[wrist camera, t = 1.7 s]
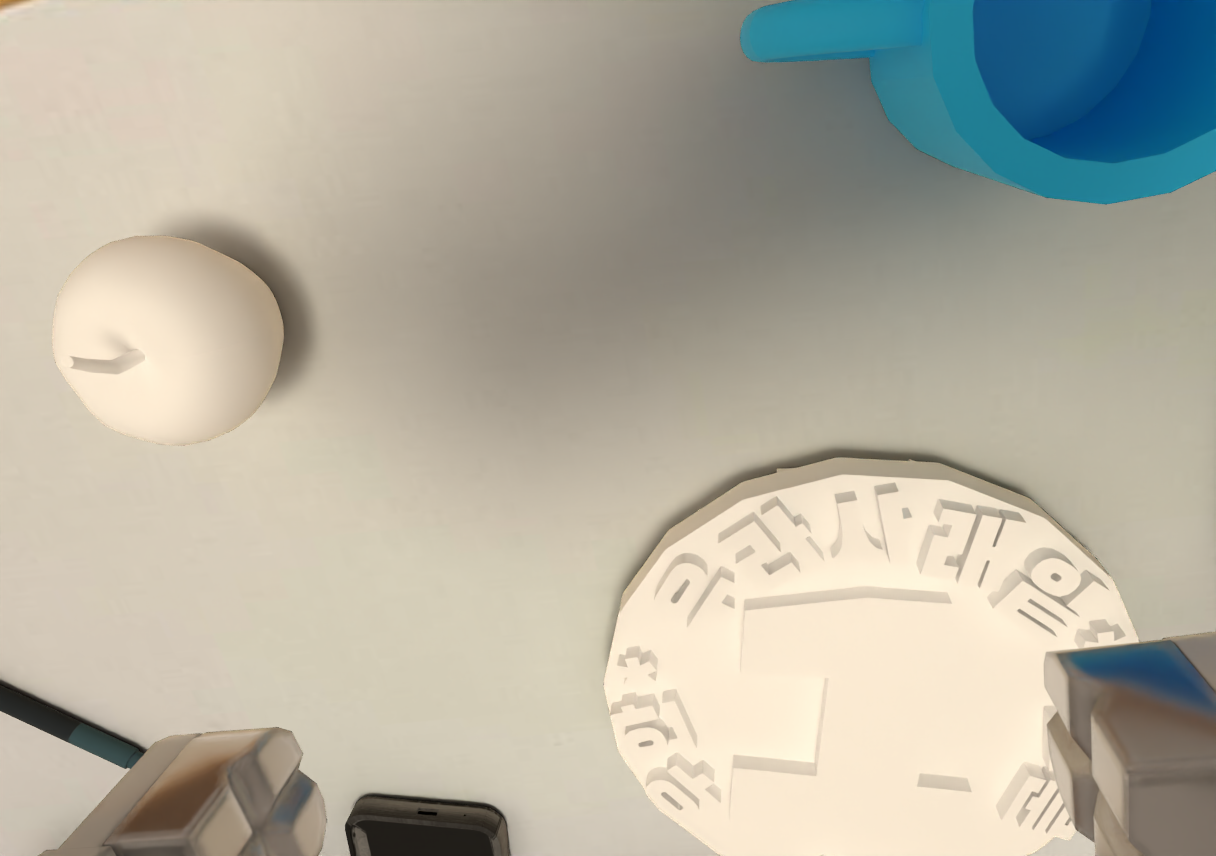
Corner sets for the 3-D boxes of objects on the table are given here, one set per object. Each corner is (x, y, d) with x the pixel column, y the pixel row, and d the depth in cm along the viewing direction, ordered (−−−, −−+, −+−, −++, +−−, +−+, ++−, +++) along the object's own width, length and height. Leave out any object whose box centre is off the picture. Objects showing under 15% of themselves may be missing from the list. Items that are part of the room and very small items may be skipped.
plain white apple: (290, 208, 29) (140, 248, 21) (340, 394, 31) (222, 486, 24) (119, 230, 30) (-78, 275, 23) (181, 407, 33) (22, 499, 25)
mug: (1194, -156, 21) (1442, -289, 14) (1136, 164, 25) (1314, 195, 17) (738, -111, 23) (743, -206, 16) (737, 183, 26) (741, 218, 19)
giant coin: (551, 747, 37) (537, 799, 34) (719, 369, 29) (719, 397, 26) (955, 902, 37) (973, 965, 34) (1233, 570, 29) (1284, 619, 26)
